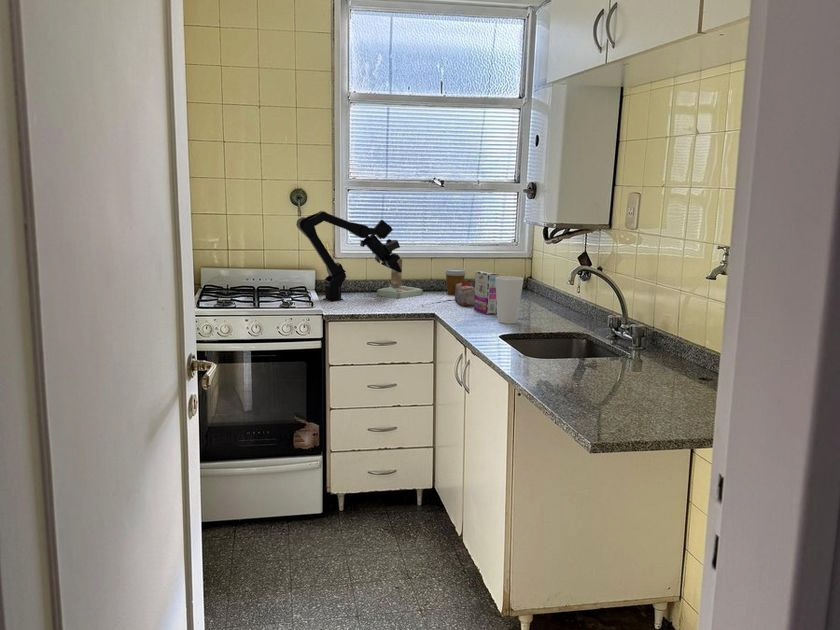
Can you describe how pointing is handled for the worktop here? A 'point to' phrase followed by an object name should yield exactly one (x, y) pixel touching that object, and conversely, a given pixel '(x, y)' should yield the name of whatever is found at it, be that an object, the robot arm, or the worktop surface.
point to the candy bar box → (485, 292)
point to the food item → (465, 294)
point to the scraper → (396, 277)
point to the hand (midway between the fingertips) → (399, 271)
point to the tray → (392, 292)
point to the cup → (508, 298)
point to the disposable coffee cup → (454, 279)
